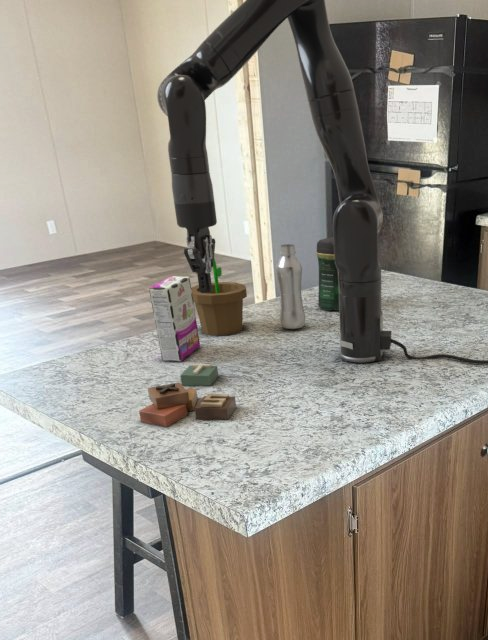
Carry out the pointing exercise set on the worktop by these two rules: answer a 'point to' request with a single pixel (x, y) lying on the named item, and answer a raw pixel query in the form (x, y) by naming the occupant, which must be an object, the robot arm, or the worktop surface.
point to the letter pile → (168, 404)
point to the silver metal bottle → (290, 288)
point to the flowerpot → (220, 306)
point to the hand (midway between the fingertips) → (206, 292)
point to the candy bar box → (175, 318)
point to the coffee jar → (327, 275)
